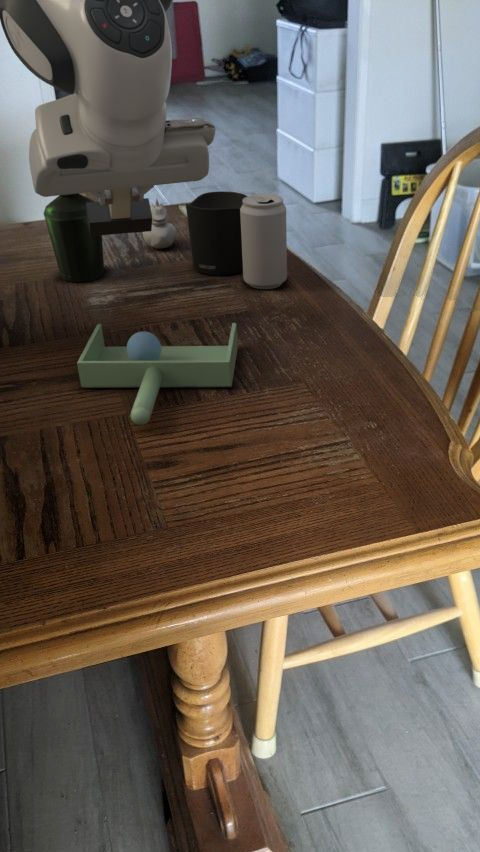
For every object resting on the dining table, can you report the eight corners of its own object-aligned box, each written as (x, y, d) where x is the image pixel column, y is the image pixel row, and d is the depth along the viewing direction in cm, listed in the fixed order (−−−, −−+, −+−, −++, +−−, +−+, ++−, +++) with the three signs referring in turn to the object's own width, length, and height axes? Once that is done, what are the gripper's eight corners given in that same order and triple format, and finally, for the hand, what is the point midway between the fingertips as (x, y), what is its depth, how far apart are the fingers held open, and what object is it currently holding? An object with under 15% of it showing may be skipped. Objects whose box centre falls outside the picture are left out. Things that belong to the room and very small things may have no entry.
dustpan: (101, 349, 97) (97, 324, 95) (237, 348, 96) (236, 322, 94) (59, 436, 80) (52, 407, 78) (223, 436, 79) (221, 407, 78)
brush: (90, 236, 101) (86, 172, 89) (86, 216, 102) (82, 150, 90) (151, 231, 103) (155, 168, 91) (147, 211, 104) (151, 146, 92)
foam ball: (142, 368, 94) (115, 357, 91) (153, 336, 94) (126, 325, 91) (161, 372, 91) (134, 361, 88) (172, 339, 91) (145, 327, 88)
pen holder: (182, 262, 122) (176, 197, 116) (236, 252, 125) (233, 188, 120) (205, 281, 115) (200, 213, 109) (262, 270, 118) (260, 203, 113)
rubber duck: (147, 254, 126) (142, 203, 121) (141, 242, 131) (135, 192, 126) (181, 250, 127) (176, 199, 122) (172, 238, 132) (168, 189, 127)
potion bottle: (110, 264, 122) (93, 141, 112) (108, 282, 116) (89, 154, 105) (58, 267, 122) (35, 144, 111) (52, 286, 115) (27, 157, 105)
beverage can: (258, 294, 111) (255, 208, 104) (235, 280, 115) (231, 197, 108) (295, 284, 113) (295, 200, 106) (272, 271, 118) (270, 189, 111)
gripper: (211, 92, 85) (197, 166, 99) (19, 107, 80) (31, 183, 94) (224, 144, 84) (208, 211, 98) (30, 162, 80) (41, 231, 93)
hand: (120, 198), depth 96 cm, fingers closed on brush, 2 cm apart
